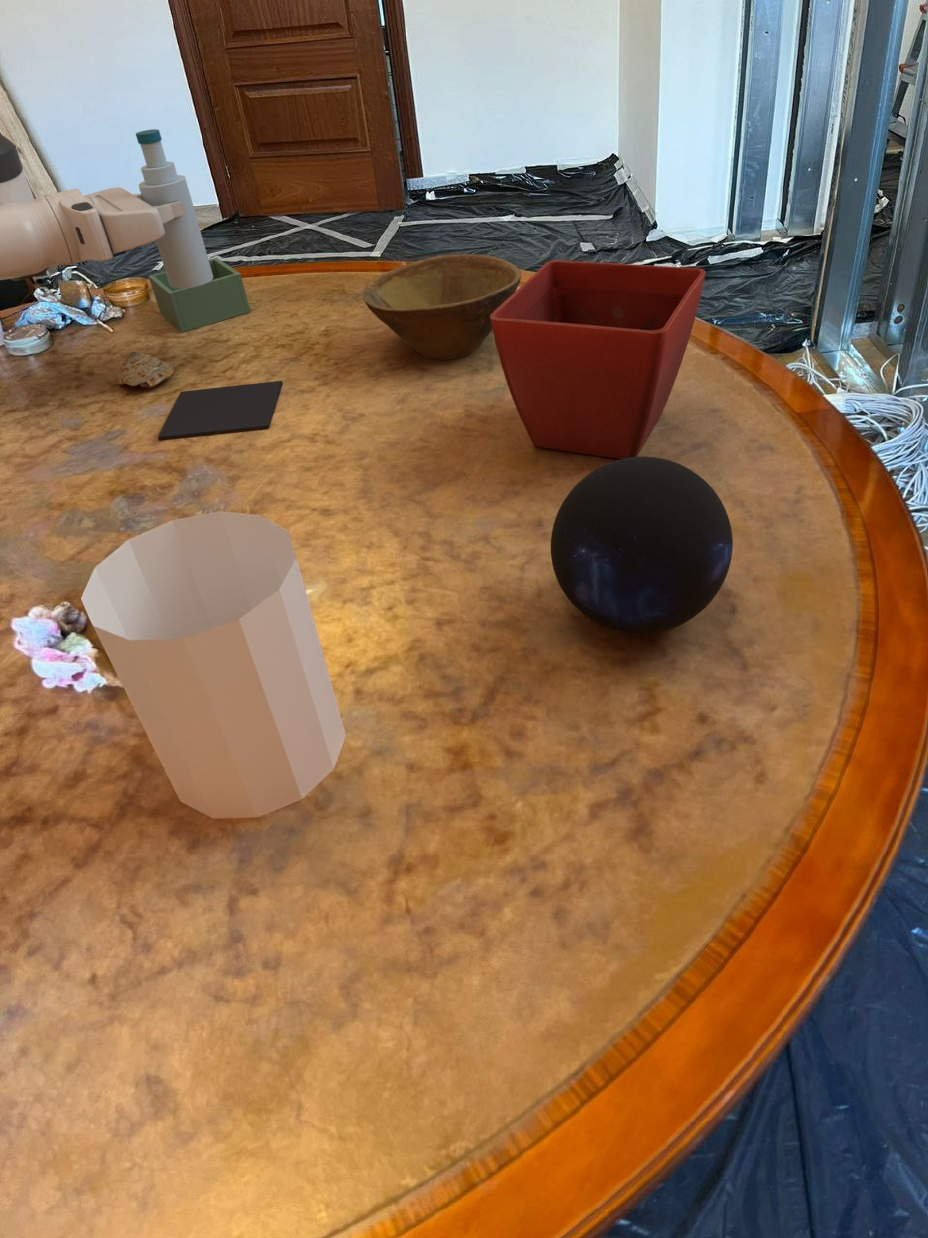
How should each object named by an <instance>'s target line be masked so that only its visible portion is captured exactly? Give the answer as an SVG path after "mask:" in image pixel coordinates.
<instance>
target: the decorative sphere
mask: <svg viewBox="0 0 928 1238" xmlns="http://www.w3.org/2000/svg"><path fill="white" fill-rule="evenodd" d="M733 539H734V538H733V530H732V525H731V521H730V518H729V515H728V513H727V510H726V508H725V506H724V504H723V501H722V500H721V498H720V496H719V495H718V494H717V492H716V491H715V489H714V488H713V487H712V486H711V485H710V484H709V483H708V482H707V481H706V480H705V479H704V478H703V477H702V476H700V475H699V474H698V473H697V472H695V471H693V470H692V469H690V468H688V467H687V466H684V465H683V464H680V463H678V462H675V461H673V460H669V459H665V458H662V457H655V456H637V457H630V458H624V459H617V460H614V461H611V462H608V463H606V464H603V465H601V466H600V467H597V468H596V469H594V470H592V471H591V472H589V473H588V474H587V475H585V476H584V477H583V478H582V479H580V480H579V481H578V482H577V483H576V484H575V485H574V486H573V487H572V489H571V490H570V491H569V493H568V494H567V495H566V496H565V498H564V499H563V501H562V503H561V505H560V506H559V508H558V511H557V512H556V516H555V519H554V522H553V525H552V530H551V537H550V558H551V565H552V569H553V572H554V575H555V577H556V581H557V583H558V585H559V587H560V589H561V590H562V592H563V593H564V595H565V597H566V598H567V600H568V601H569V602H570V604H571V605H572V606H573V607H574V608H575V609H576V610H577V611H578V612H580V614H582V615H583V616H584V617H586V618H587V619H589V620H590V621H592V622H593V623H595V624H597V625H599V626H601V627H604V628H606V629H608V630H611V631H614V632H618V633H623V634H629V635H630V634H631V635H649V634H650V635H651V634H656V633H663V632H665V631H669V630H671V629H674V628H677V627H680V626H682V625H684V624H685V623H688V622H689V621H690V620H692V619H693V618H695V617H696V616H697V615H699V614H700V613H702V611H704V610H705V609H706V608H707V606H709V605H710V603H711V602H712V601H713V600H714V598H715V597H716V596H717V595H718V593H719V592H720V590H721V588H722V586H723V584H724V583H725V580H726V578H727V576H728V573H729V570H730V566H731V562H732V556H733V548H734V547H733V546H734V540H733Z"/></svg>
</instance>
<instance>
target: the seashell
mask: <svg viewBox="0 0 928 1238" xmlns="http://www.w3.org/2000/svg"><path fill="white" fill-rule="evenodd" d="M174 371H175V369H174V367H173V366H172V365H171V364H170V363H168V362H167V361H164V360H161V359H158V358H157V357H154V356H151V355H149V354H146V353H142V352H136V351H131V352H130V354H129V355H128V356H127V358H126V359H125V360H124V361H123V363H122V364H121V366H120V368H119V371H118V374H117V384H118V385H125V384H126V385H128V386H130V387H135V386H137V385H139V386H140V388H145V389H146V388H147V389H152V388H154V387H156V386H157V385H159V384H160V383H162V382H163V381H165V380H166V379H168V378H169V377H170V376H171V375H173V374H174Z"/></svg>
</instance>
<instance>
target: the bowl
mask: <svg viewBox="0 0 928 1238" xmlns="http://www.w3.org/2000/svg"><path fill="white" fill-rule="evenodd" d="M521 279H522V272H521V270H520V269H519V268H518V266H516V265H515V264H513V263H512V262H510V261H507V260H505V259H502V258H499V257H496V256H492V255H486V254H485V255H483V254H475V253H474V254H472V253H469V254H468V253H467V254H464V253H463V254H444V255H438V256H433V257H428V258H425V259H421V260H417V261H413V262H410V263H407V264H404V265H401V266H399V267H395V268H392V269H391V270H390V271H385V272H382V273H381V274H379V275H377V276H375V277H374V278H372V279H371V280H369V281H368V283H366V285H365V287H364V289H363V291H362V299H363V302H364V303H365V305H366V307H367V308H368V309H369V311H371V312H372V314H374V315H375V317H376V318H377V319H378V320H380V321H381V322H382V323H383V324H384V325H386V326H387V327H388V328H390V330H392V331H393V333H395V334H396V335H397V336H398V337H399V338H400V339H401V340H403V341H404V342H405V343H406V344H408V345H409V346H410V347H411V348H412V349H413V350H415V351H416V353H418V354H420V355H422V356H423V357H424V358H426V359H429V360H436V361H437V360H438V361H440V360H442V361H444V360H446V361H447V360H452V359H459V358H462V357H465V356H468V355H470V354H471V353H472V354H473V353H474V352H475V351H477V350H478V348H480V346H481V345H482V344H483V342H484V341H485V339H486V338H487V337H488V335H489V334H490V333H491V332H492V331H493V330H492V325H491V319H490V315H491V314H492V313H493V312H494V311H495V310H496V309H497V308H498V307H499V306H501V305H502V304H503V303H504V302H505V301H506V300H507V299H508V298H509V297H510V296H511V295H513V294H514V293H515V292H516V291H517V290H518V287H519V285H520V283H521Z"/></svg>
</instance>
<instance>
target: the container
mask: <svg viewBox="0 0 928 1238" xmlns="http://www.w3.org/2000/svg"><path fill="white" fill-rule="evenodd" d="M80 600H81V602H82V604H83V606H84V609H85V612H86V614H87V616H88V618H89V620H90V623H91V625H92V627H93V629H94V631H95V633H96V636H97V637H98V639H99V641H100V643H101V645H102V647H103V649H104V652H105V653H106V655H107V657H108V659H109V662H110V663H111V666H112V667H113V670H114V671H115V673H116V676H117V678H118V679H119V681H120V683H121V685H122V688H123V690H124V691H125V694H126V695H127V698H128V699H129V702H130V703H131V706H132V708H133V709H134V711H135V714H136V716H137V717H138V719H139V722H140V724H141V725H142V728H143V730H144V732H145V734H146V735H147V738H148V740H149V741H150V743H151V746H152V748H153V750H154V752H155V753H156V755H157V758H158V759H159V761H160V764H161V766H162V768H163V769H164V772H165V773H166V776H167V778H168V780H169V781H170V784H171V786H172V788H173V789H174V792H175V794H176V795H177V798H178V800H179V802H180V803H182V804H184V805H185V806H188V807H189V808H192V809H194V810H196V811H197V812H200V813H202V814H204V815H205V816H208V817H210V818H211V819H246V818H248V819H249V818H260V817H262V816H265V815H267V814H270V813H273V812H275V811H277V810H279V809H283V808H284V807H287V806H289V805H292V804H294V803H297V802H299V801H302V800H303V799H304V798H305V797H306V796H308V795H309V793H311V792H312V791H313V790H314V789H315V788H316V787H317V786H318V785H320V783H321V782H322V781H323V780H324V779H325V778H327V777H328V776H329V774H330V773H332V772H333V771H334V770H335V768H336V764H337V762H338V759H339V756H340V754H341V751H342V748H343V746H344V743H345V741H346V738H347V733H346V731H345V726H344V723H343V720H342V716H341V712H340V709H339V704H338V701H337V698H336V694H335V691H334V687H333V683H332V679H331V676H330V672H329V669H328V665H327V662H326V658H325V655H324V651H323V647H322V644H321V640H320V637H319V633H318V630H317V626H316V623H315V622H316V621H315V618H314V616H313V612H312V608H311V604H310V601H309V597H308V593H307V590H306V587H305V583H304V579H303V575H302V571H301V567H300V565H299V561H298V557H297V554H296V551H295V547H294V544H293V540H292V537H291V534H290V530H288V529H286V528H284V527H283V526H281V525H279V524H277V523H276V522H274V521H272V520H270V519H268V518H267V517H265V516H264V515H262V514H252V513H242V512H232V511H231V512H230V511H220V510H219V511H214V512H208V513H202V514H197V515H192V516H185V517H181V518H175V519H171V520H170V521H167V522H165V523H163V524H160V525H157V526H156V527H153V528H151V529H149V530H147V531H145V532H142V533H140V534H138V535H136V536H133V537H131V538H129V539H127V540H126V541H125V542H123V543H122V544H121V545H120V546H118V548H116V549H115V550H114V551H113V552H111V554H109V555H107V557H106V558H104V559H103V560H102V561H100V562H99V563H98V564H97V565H96V566H94V568H93V570H92V572H91V574H90V577H89V579H88V581H87V584H86V585H85V588H84V590H83V593H82V595H81V597H80Z"/></svg>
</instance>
